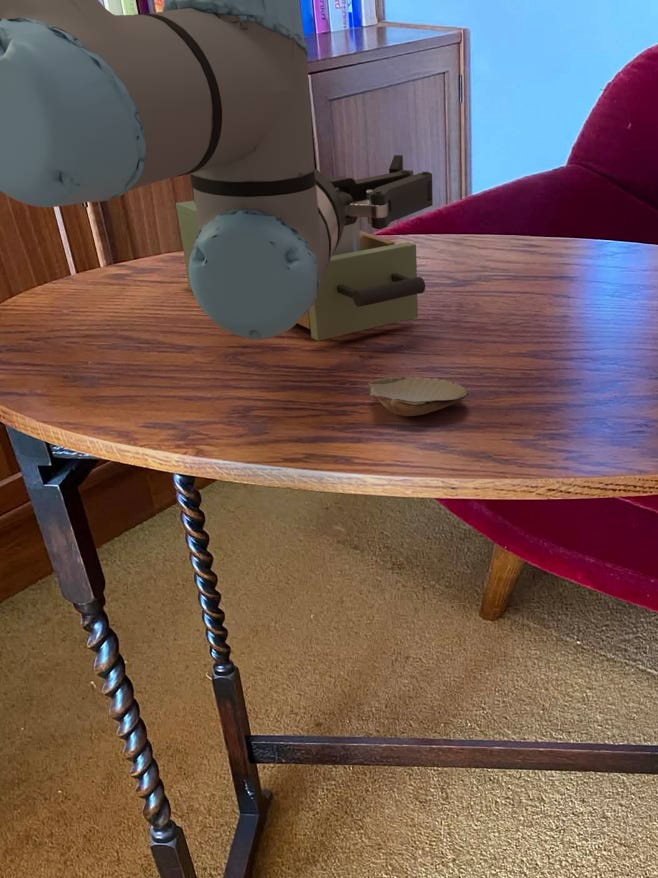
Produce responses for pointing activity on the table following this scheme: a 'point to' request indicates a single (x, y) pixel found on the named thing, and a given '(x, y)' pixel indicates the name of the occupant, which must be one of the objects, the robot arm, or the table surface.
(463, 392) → the seashell
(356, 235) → the canister
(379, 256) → the drawer
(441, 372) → the table surface
